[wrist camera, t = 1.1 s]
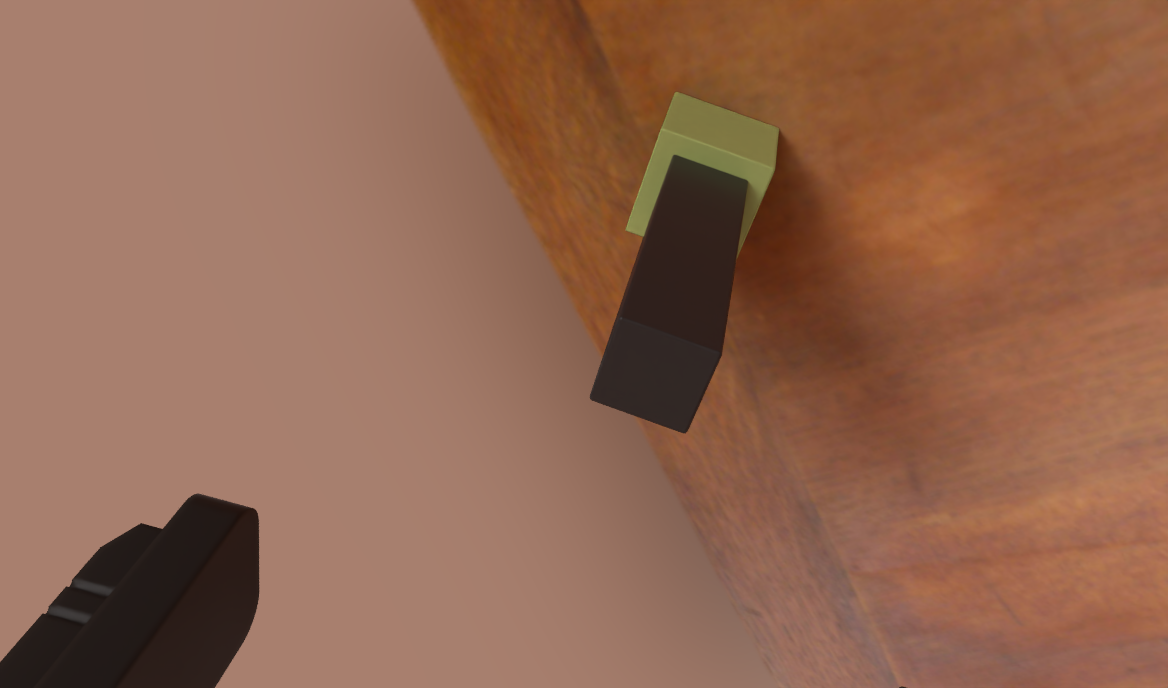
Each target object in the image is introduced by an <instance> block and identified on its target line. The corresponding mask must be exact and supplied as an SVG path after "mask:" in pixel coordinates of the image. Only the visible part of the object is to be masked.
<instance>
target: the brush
mask: <svg viewBox="0 0 1168 688" xmlns="http://www.w3.org/2000/svg"><path fill="white" fill-rule="evenodd" d="M778 136H779V128H777V127H774V126H772V125H769V124H766V123H763V122H760V121H758V120H755V119H752V118H749V117H746V116H744V115H741V114H738V113H735V112H732V111H729V110H727V109H724V108H721V107H718V106H715V105H713V104H710V103H707V102H704V101H701V100H699V99H696V98H693V97H690V96H687V95H685V94H682V93H679V92H675V94H674V96H673V99H672V101H671V104H670V107H669V109H668V112H667V114H666V117H665V120H664V122H663V125H662V127H661V130H660V133H659V136H658V139H657V141H656V144H655V147H654V150H653V153H652V156H651V158H650V161H649V164H648V167H647V170H646V173H645V175H644V178H643V181H642V184H641V187H640V190H639V192H638V195H637V198H636V201H635V204H634V207H633V209H632V212H631V215H630V218H629V221H628V224H627V226H626V231H628V232H631V233H633V234H636V235H639V236H642V237H643V240H642V243H641V246H640V249H639V252H638V255H637V258H636V261H635V263H634V266H633V269H632V272H631V275H630V278H629V281H628V284H627V287H626V290H625V293H624V296H623V299H622V302H621V305H620V308H619V311H618V314H617V317H616V320H615V323H614V326H613V329H612V332H611V335H610V338H609V341H608V344H607V347H606V349H605V352H604V355H603V358H602V361H601V364H600V367H599V370H598V373H597V376H596V379H595V382H594V385H593V388H592V391H591V394H590V399H591V400H592V401H595V402H598V403H601V404H603V405H606V406H609V407H612V408H615V409H617V410H620V411H623V412H626V413H628V414H631V415H634V416H637V417H640V418H642V419H645V420H648V421H651V422H653V423H656V424H659V425H662V426H665V427H667V428H670V429H673V430H676V431H678V432H681V433H686V432H687V431H688V429H689V427H690V425H691V423H692V420H693V418H694V416H695V414H696V412H697V409H698V407H699V405H700V403H701V400H702V398H703V396H704V394H705V392H706V389H707V387H708V385H709V383H710V380H711V378H712V376H713V374H714V371H715V369H716V367H717V365H718V363H719V360H720V358H721V356H722V351H723V344H724V338H725V331H726V325H727V318H728V311H729V305H730V298H731V292H732V285H733V279H734V272H735V266H736V260H737V257H738V255H739V253H740V250H741V248H742V246H743V243H744V241H745V239H746V236H747V234H748V232H749V230H750V227H751V225H752V223H753V220H754V218H755V216H756V213H757V211H758V209H759V206H760V204H761V202H762V199H763V197H764V195H765V192H766V190H767V188H768V185H769V183H770V181H771V179H772V176H773V174H774V172H775V167H776V157H777V147H778Z"/></svg>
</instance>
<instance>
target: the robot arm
mask: <svg viewBox="0 0 1168 688" xmlns="http://www.w3.org/2000/svg"><path fill="white" fill-rule="evenodd" d="M258 598H259V519H258V513H257V511H256V510H255V509H253V508H250V507H246V506H243V505H239V504H235V503H231V502H228V501H224V500H220V499H217V498H213V497H209V496H206V495H202V494H194V495H193V496H191V497H190V498H188V499H187V500H186V502H185V503H184V504H183V505H182V506H181V507H180V509H179V510H178V511H177V512H176V514H175V515H174V516H173V517H172V518H171V520H170V521H169V522H168V523H167V525H166V526H165V527H164V528H163V529H160V528H157V527H153V526H149V525H146V524H142V523H141V524H140V525H137V526H136V527H134V528H132V529H131V530H129V531H127V532H126V533H124V534H122V535H121V536H119V537H117V538H115V539H114V540H112V541H110V542H109V543H107V544H105V545H104V546H102V547H100V549H99V550H98V551H97V552H96V553H95V554H94V555H93V557H92V558H91V559H90V560H89V561H88V562H87V563H86V565H85V566H84V567H83V568H82V569H81V570H80V572H79V573H78V574H77V575H76V576H75V577H74V578H73V580H72V583H71V585H70V587H65V589H64V590H63V591H62V592H61V593H60V594H59V596H58V597H57V598H56V599H55V600H54V601H53V603H52V604H51V605H50V606H49V609H48V611H47V613H46V614H42V615H41V616H40V617H39V618H38V619H37V621H36V622H35V623H34V624H33V625H32V626H31V628H30V629H29V630H28V631H27V632H26V633H25V634H24V636H23V637H22V638H21V639H20V640H19V641H18V642H17V644H16V645H15V646H14V647H13V648H12V649H11V650H10V652H9V653H8V654H7V655H6V656H5V657H4V658H3V660H2V661H1V662H0V688H215V686H216V685H217V683H218V682H219V680H220V678H221V677H222V675H223V674H224V672H225V670H226V669H227V667H228V666H229V664H230V663H231V661H232V659H233V658H234V656H235V655H236V653H237V651H238V650H239V648H240V647H241V645H242V643H243V642H244V640H245V638H246V636H247V634H248V632H249V630H250V627H251V624H252V622H253V619H254V615H255V613H256V609H257V604H258ZM899 688H906V687H899Z"/></svg>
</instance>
